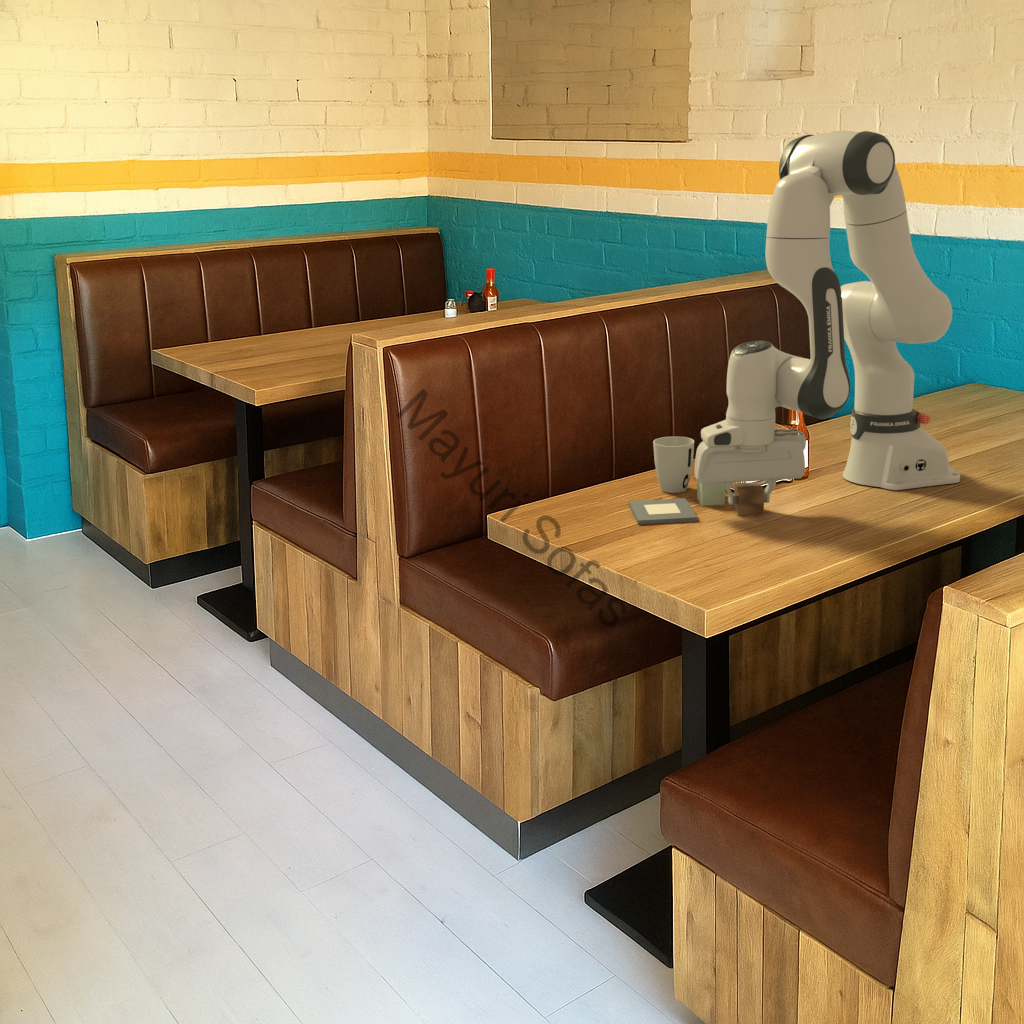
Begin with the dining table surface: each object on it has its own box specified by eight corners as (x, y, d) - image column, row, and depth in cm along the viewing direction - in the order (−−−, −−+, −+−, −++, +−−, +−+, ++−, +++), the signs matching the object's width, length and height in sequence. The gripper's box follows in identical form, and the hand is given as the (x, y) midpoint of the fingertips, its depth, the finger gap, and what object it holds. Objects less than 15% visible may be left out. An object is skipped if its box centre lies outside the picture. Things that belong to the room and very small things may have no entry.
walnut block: (757, 507, 215) (758, 482, 214) (763, 514, 211) (764, 488, 209) (733, 508, 215) (734, 483, 214) (739, 516, 211) (740, 490, 209)
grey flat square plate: (684, 502, 220) (684, 497, 220) (697, 521, 209) (697, 516, 209) (628, 505, 220) (628, 501, 220) (638, 524, 208) (638, 520, 208)
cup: (692, 495, 224) (693, 446, 221) (651, 494, 226) (651, 446, 223) (694, 483, 232) (695, 436, 229) (655, 483, 233) (654, 436, 230)
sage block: (719, 497, 222) (720, 473, 221) (725, 504, 218) (725, 479, 216) (697, 499, 222) (697, 474, 221) (701, 506, 218) (702, 481, 216)
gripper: (801, 424, 212) (798, 494, 216) (692, 430, 211) (692, 500, 215) (811, 432, 206) (808, 504, 210) (699, 438, 205) (699, 510, 209)
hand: (748, 502), depth 212 cm, fingers closed on walnut block, 4 cm apart
